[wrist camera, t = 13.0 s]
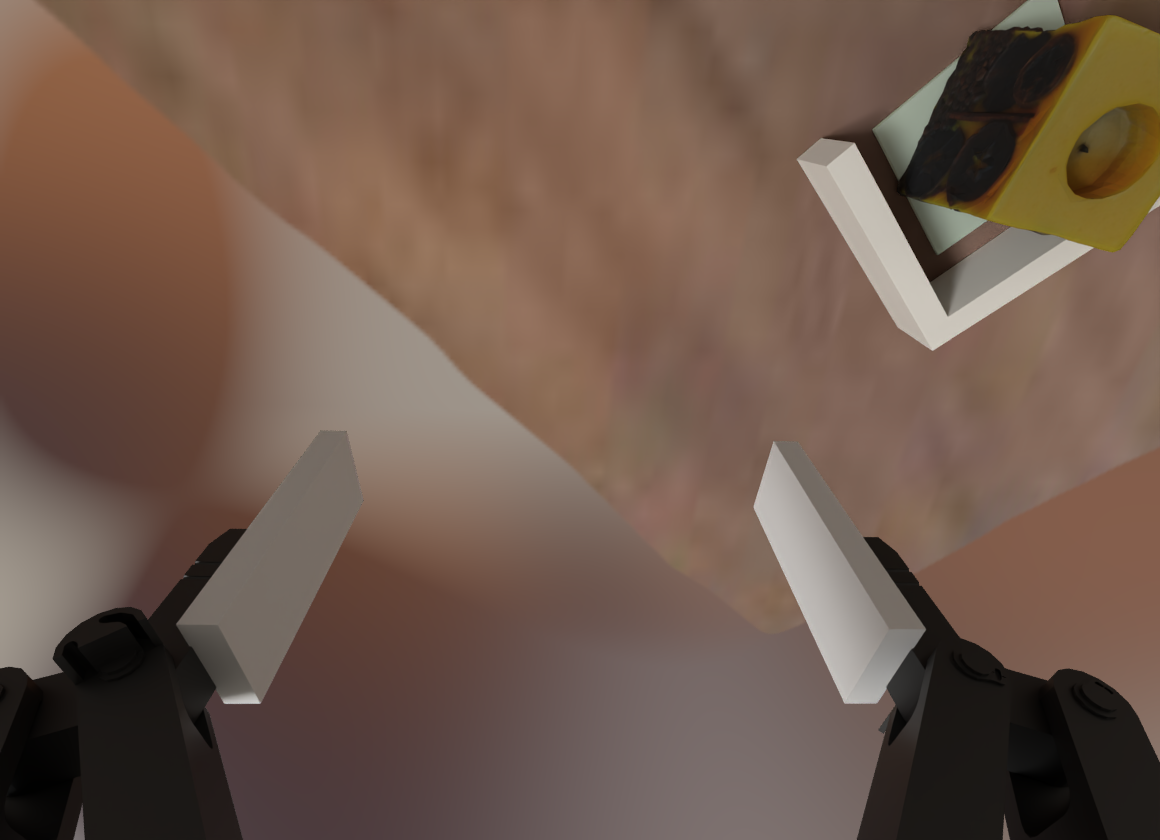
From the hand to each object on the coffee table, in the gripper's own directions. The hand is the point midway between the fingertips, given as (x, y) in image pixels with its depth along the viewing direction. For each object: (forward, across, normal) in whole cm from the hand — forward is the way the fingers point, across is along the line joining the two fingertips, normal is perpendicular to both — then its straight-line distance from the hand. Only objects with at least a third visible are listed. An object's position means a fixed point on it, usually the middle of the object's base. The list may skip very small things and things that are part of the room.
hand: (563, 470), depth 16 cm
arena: (+29, +30, +8) cm, 42 cm away
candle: (+29, +30, +9) cm, 43 cm away
